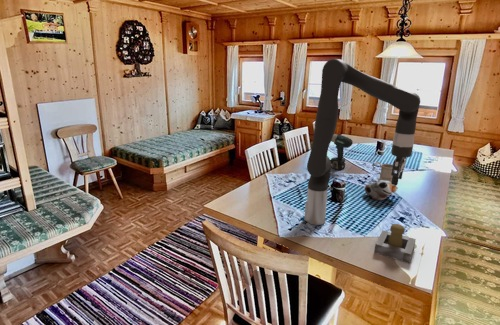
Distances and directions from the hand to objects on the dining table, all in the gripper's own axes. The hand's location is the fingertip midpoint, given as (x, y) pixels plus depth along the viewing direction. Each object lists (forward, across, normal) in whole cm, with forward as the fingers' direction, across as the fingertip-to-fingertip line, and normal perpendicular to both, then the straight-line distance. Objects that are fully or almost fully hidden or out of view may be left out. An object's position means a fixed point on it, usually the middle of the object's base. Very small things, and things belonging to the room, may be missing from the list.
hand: (396, 181), depth 131 cm
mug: (+27, -75, -20) cm, 82 cm away
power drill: (+27, -82, -56) cm, 103 cm away
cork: (+26, +9, +5) cm, 28 cm away
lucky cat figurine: (+27, -44, -14) cm, 53 cm away
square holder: (+26, +9, +5) cm, 28 cm away
